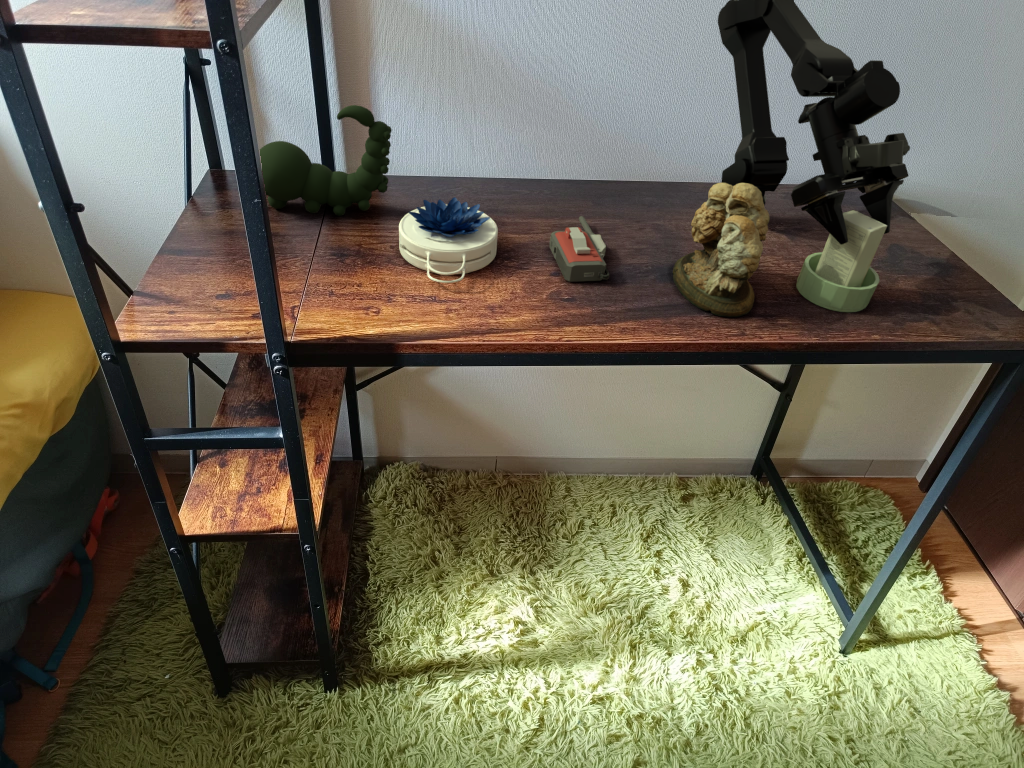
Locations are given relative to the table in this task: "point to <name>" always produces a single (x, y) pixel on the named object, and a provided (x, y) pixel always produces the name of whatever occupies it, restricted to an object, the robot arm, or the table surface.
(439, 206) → the white round gift box
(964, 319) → the table surface
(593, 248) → the walkie-talkie
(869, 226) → the cosmetic box
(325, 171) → the toy figurine
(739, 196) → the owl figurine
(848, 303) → the dish
